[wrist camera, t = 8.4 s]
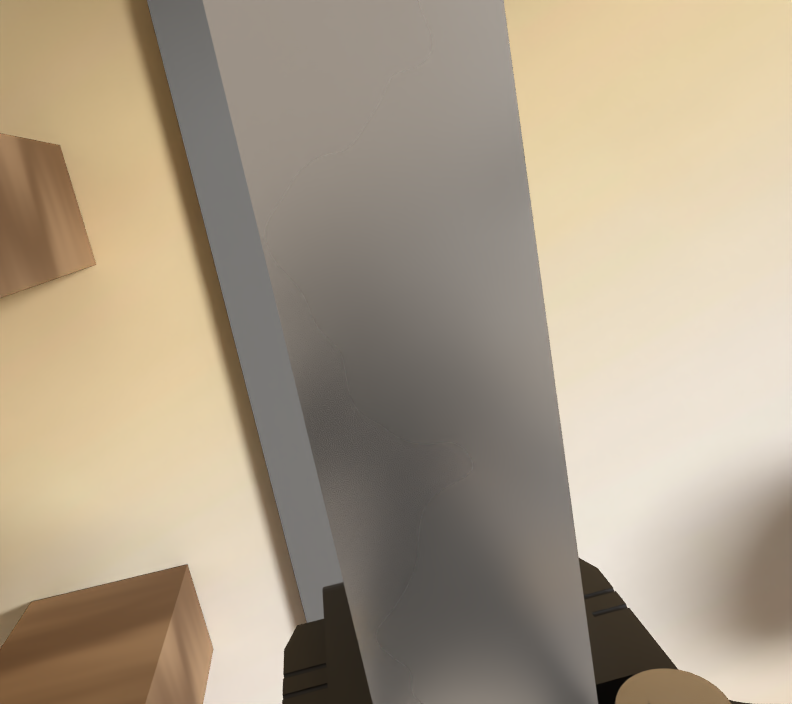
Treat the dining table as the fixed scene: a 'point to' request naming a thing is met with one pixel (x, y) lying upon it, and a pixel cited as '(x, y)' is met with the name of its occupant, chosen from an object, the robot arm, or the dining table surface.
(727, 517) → the dining table surface
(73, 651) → the post
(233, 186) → the mat
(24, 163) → the post
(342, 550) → the rail
